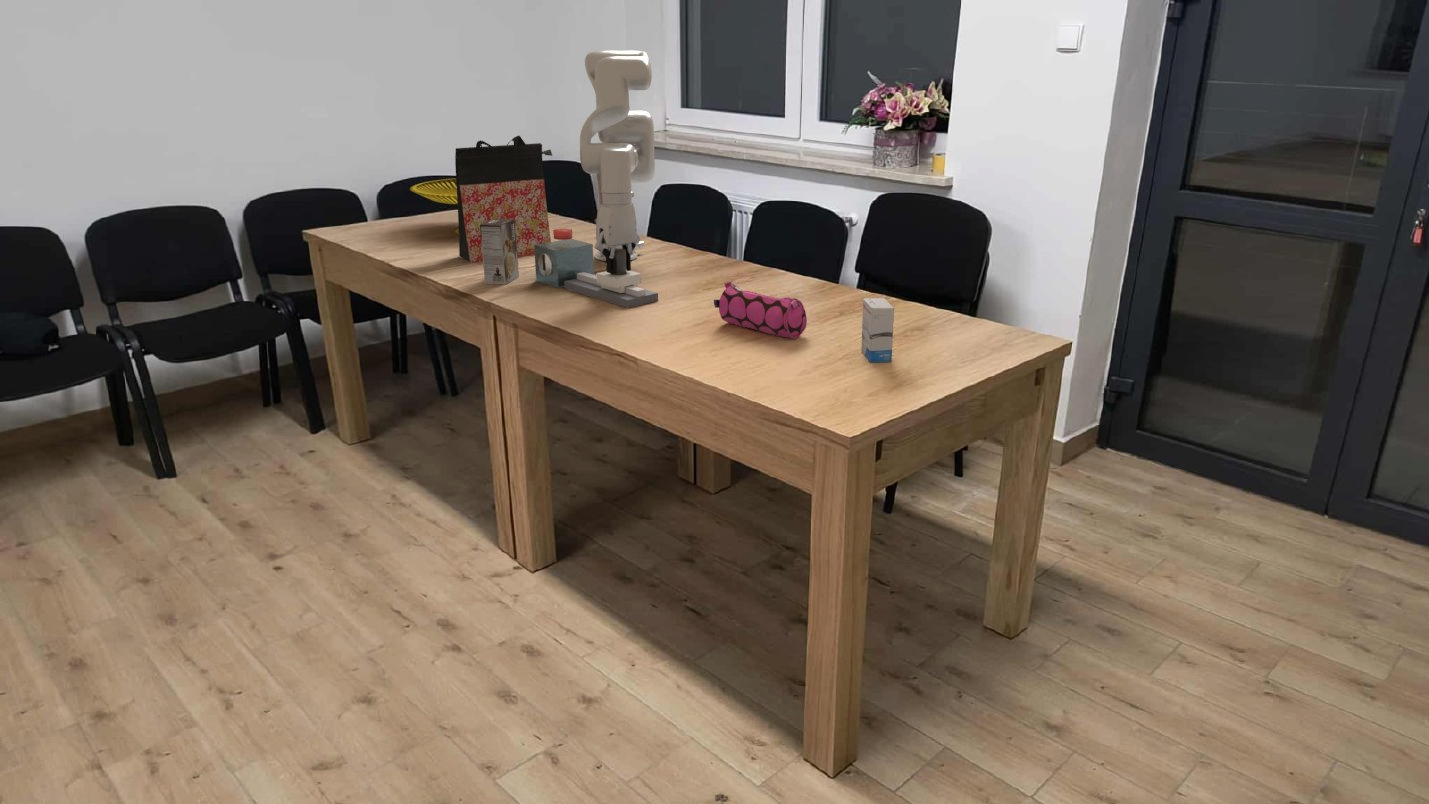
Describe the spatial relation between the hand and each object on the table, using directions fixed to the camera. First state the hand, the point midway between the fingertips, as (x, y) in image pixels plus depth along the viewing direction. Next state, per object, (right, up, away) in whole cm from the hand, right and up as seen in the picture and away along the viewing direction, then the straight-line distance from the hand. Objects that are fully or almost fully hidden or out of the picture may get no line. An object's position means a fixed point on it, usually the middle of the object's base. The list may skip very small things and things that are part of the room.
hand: (618, 270), depth 249 cm
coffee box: (-34, 0, +18) cm, 38 cm away
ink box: (+58, -24, -41) cm, 75 cm away
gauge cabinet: (-16, 0, +18) cm, 24 cm away
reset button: (-16, +10, +14) cm, 24 cm away
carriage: (0, -4, +2) cm, 5 cm away
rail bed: (-3, -5, +5) cm, 8 cm away
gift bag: (-37, +11, +48) cm, 62 cm away
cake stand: (-56, +24, +81) cm, 101 cm away
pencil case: (+35, -17, -23) cm, 46 cm away
